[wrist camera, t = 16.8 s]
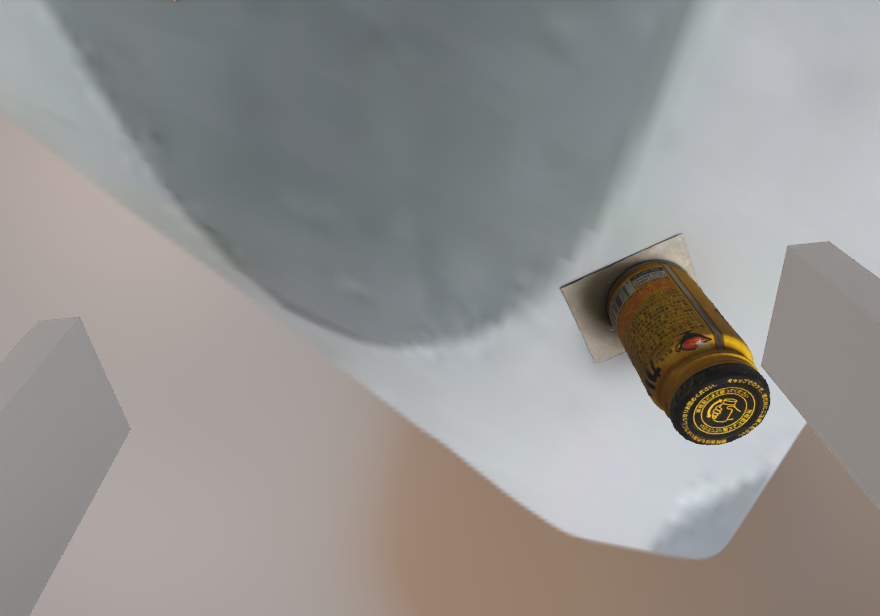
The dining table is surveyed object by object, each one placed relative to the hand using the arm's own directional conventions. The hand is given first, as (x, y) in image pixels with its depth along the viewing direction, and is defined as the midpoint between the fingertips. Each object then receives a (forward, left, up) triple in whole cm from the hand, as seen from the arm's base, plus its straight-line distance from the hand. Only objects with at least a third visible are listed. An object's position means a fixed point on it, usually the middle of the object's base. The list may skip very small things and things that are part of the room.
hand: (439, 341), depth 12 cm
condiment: (+4, +21, -27) cm, 34 cm away
